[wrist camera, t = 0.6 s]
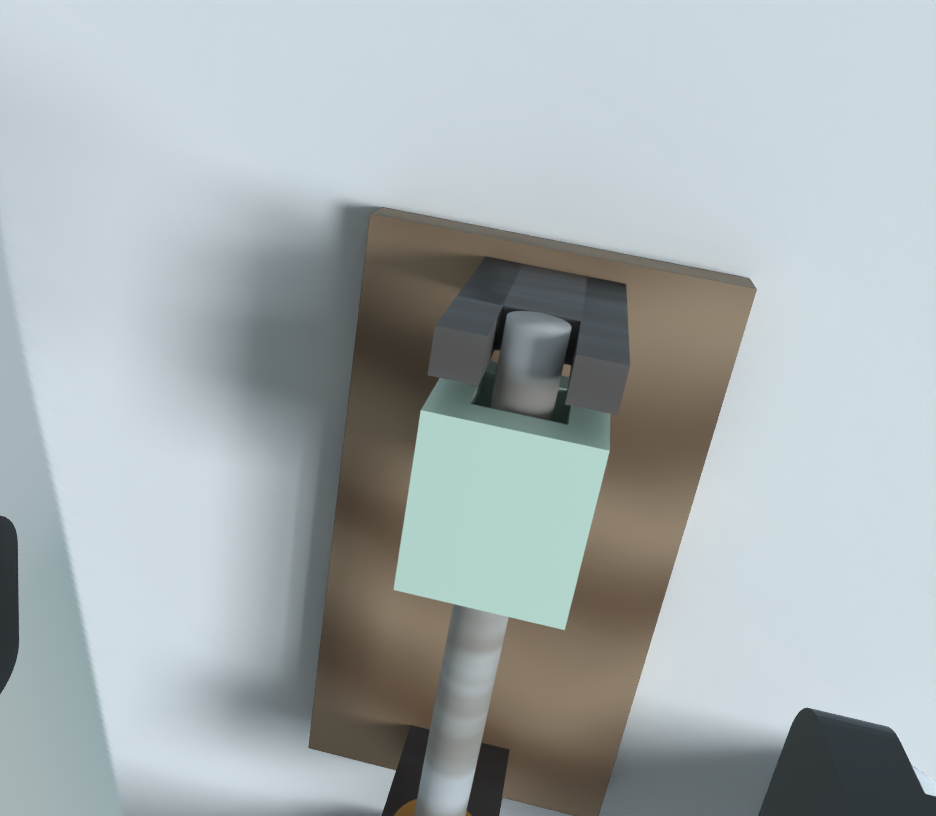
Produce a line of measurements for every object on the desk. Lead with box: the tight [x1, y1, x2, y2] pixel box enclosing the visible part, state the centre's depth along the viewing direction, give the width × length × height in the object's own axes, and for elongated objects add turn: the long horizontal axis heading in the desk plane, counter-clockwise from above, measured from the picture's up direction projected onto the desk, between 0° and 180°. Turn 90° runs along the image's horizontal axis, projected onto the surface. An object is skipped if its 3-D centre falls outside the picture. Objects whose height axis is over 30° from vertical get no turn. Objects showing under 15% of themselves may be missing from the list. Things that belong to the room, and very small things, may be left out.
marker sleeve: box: [394, 361, 610, 630], centre depth 22 cm, size 5×4×4 cm
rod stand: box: [308, 207, 757, 816], centre depth 27 cm, size 22×12×10 cm, turn 171°
